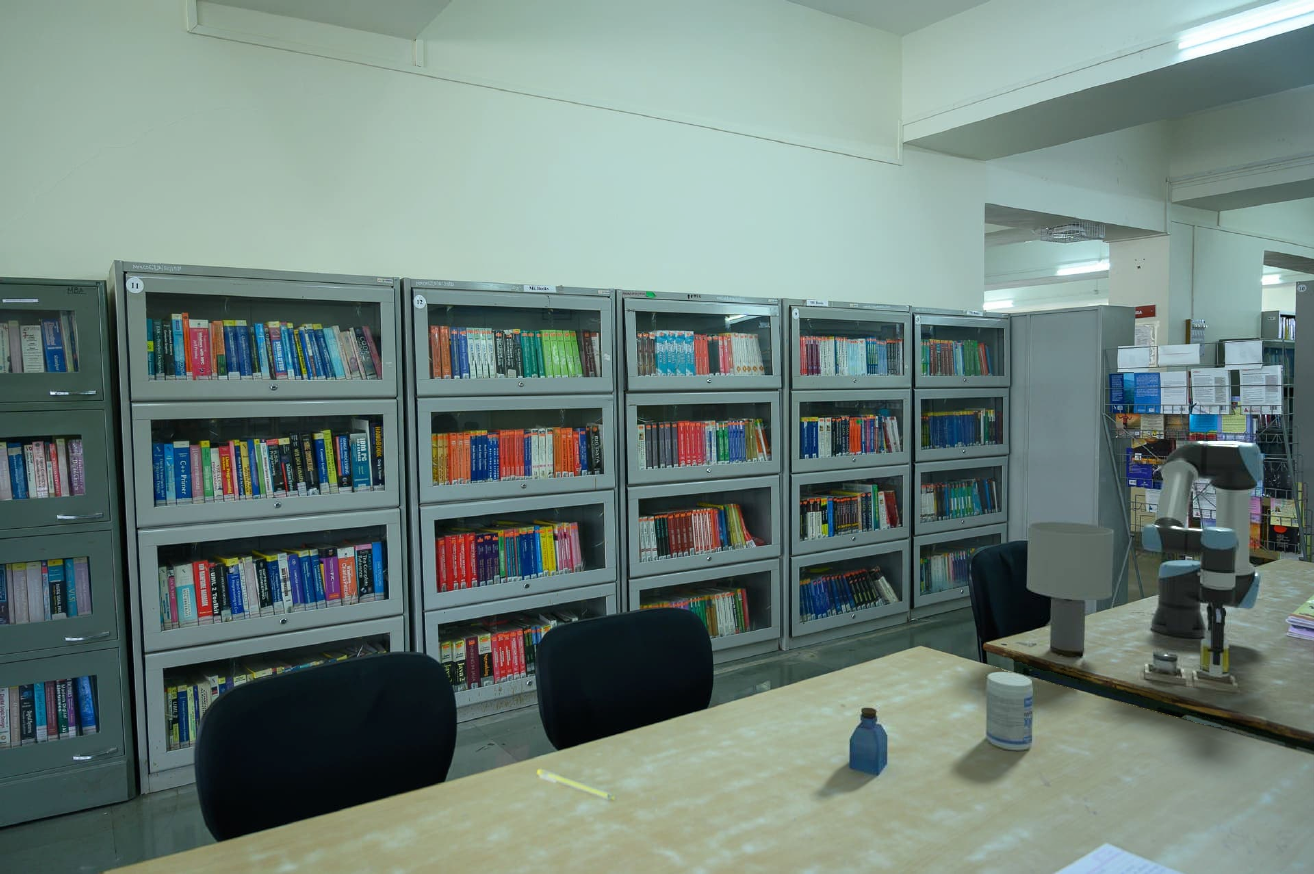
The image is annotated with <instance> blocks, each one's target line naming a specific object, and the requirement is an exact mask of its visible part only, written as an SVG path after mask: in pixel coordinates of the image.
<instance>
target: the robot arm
mask: <svg viewBox="0 0 1314 874" xmlns="http://www.w3.org/2000/svg"><path fill="white" fill-rule="evenodd" d="M1263 467H1264V466H1263V460H1262V452H1261V449H1260V447H1259V445H1257V444H1256V443H1253V442H1242V441H1204V440H1196V441H1191V442H1186V443H1184V444H1182V445H1180V446H1179V447H1177V448H1176V449H1175V450H1173V451H1172V452H1170V454H1169V455H1168V456H1167V457H1166V458H1165V460H1164V461H1163V463H1162V465H1161V471H1160V473H1161V478H1162V479H1163V480H1162V483H1161V488H1160V492H1159V497H1158V502H1157V506H1156V507H1157V508H1156V511H1155V514H1154V515H1155V517H1154V521H1153V523H1150V524H1145V525H1144V526H1143V527H1142V532H1141V533H1142V534H1141V535H1142V536H1141V544H1142V547H1143V548H1144V550H1145V551H1151V552H1158V553H1166V554H1177V555H1188V556H1197V557H1200V561H1198V560H1191V559H1189V560H1188V559H1186V560H1185V559H1183V560H1169V561H1165V562H1162V563H1161V564H1160V566H1159V569H1158V575H1157V577H1158V593H1157V594H1158V596H1157V597H1158V598H1157V607H1156V610H1155V612H1154V614H1153V617H1152V618H1151V622H1150V624H1151V626H1150V627H1151V630H1153V631H1155V632H1157V633H1160V634H1163V635H1167V636H1170V637H1171V636H1173V637H1179V638H1185V639H1186V638H1187V639H1188V638H1189V639H1196V638H1197V639H1199V638H1200V639H1201V638H1205V637H1204V632H1205V631H1207V630H1211V649H1207V651H1208V652H1210V662H1209V676H1214V677H1221V678H1222V661H1223V653H1224V633H1225V627H1226V617H1227V610H1226V607H1227V608H1234V609H1243V610H1244V609H1245V610H1250V609H1253V608H1255V605H1256V602H1257V598H1258V594H1259V590H1260V589H1259V588H1260V583H1261V576H1262V575H1261V573H1259V572H1257V571H1256V567H1255V566H1254V564H1252V563H1251V562H1250V545H1251V544H1250V543H1251V541H1250V537H1251V535H1250V534H1251V498H1252V497H1251V495H1252V494H1251V493H1252V491H1254V490H1255V489H1257V488H1258V483H1261V482H1263V481H1264V470H1263V469H1264V468H1263ZM1198 479H1205V480H1206V479H1207V480H1210V481H1209V482H1210V486H1211V487H1212V488H1213V489H1214V490H1215V491H1216V494H1215V496H1216V497H1215V526H1207V527H1204V528H1193V527H1186V524H1187V518H1188V512H1189V507H1190V500H1191V495H1192V489H1193V484H1194V483H1196V481H1197V480H1198ZM1201 604H1204V605H1205V604H1206V605H1207V606H1206V613H1207V615H1206V617H1207V626H1206V624H1205V623H1206V622H1205V620H1204V618H1203V615H1202V612H1201V611H1202V610H1201ZM1218 647H1219V648H1218Z"/></svg>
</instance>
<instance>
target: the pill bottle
mask: <svg viewBox="0 0 1314 874" xmlns="http://www.w3.org/2000/svg"><path fill="white" fill-rule="evenodd" d="M1226 640H1227V634H1226V633H1225V632H1224V653H1223V661H1222V677H1226V676H1228V675H1229V666H1230V664H1229V663H1230V655H1229V654H1230V645H1229V643H1228V642H1226ZM1218 648H1219V647H1218ZM1207 649H1211V630H1208V629H1206V631H1205V632H1204V637H1203V638H1202V639H1201V641H1200V652H1199V653H1200V654H1199V655H1200V656H1199V671H1201V672H1202V673H1204V674H1206V675H1209V662H1210V652H1208V651H1207Z"/></svg>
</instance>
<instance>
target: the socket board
mask: <svg viewBox="0 0 1314 874" xmlns="http://www.w3.org/2000/svg"><path fill="white" fill-rule="evenodd" d="M1140 675H1141V676H1140V677H1141V678H1140V679H1141V680H1146V681H1152V682H1157V683H1165V684H1171V685H1177V686H1182V687H1183V686H1184V687H1190V688H1196V689H1197V688H1198V689H1203V690H1211V691H1215V692H1222V693H1229V694H1236V695H1243V693H1242V691H1241V687H1240V685H1239V683H1238V680H1236V679H1235V676H1234V675H1231V674H1228V676H1226V677H1222V678H1221V677H1214V676H1209V675H1206V674H1204V673H1202V672H1201V671H1200V670H1199V669H1191V673H1186V672H1185V668H1183V667H1178V666H1177V676H1170V675H1164V674H1157V673H1153V663H1148V662H1144V667H1143V666H1140Z"/></svg>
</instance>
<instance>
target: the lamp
mask: <svg viewBox="0 0 1314 874" xmlns="http://www.w3.org/2000/svg"><path fill="white" fill-rule="evenodd" d="M1114 532H1115V531H1114V530H1113V529H1112V528H1109V527H1105V526H1100V525H1095V524H1088V523H1080V522H1079V523H1077V522H1065V521H1064V522H1063V521H1045V522H1044V521H1042V522H1033V523H1029V524H1028V525H1027V563H1026V566H1027V567H1026V571H1027V572H1026V588H1027V590H1029V591H1031V592H1033V593H1035V594H1039V595H1042V596H1046V597H1050V598H1051V599H1050V601H1051V602H1050V631H1049V632H1050V633H1049V635H1050V638H1049V639H1050V641H1049V651H1050V652H1051V653H1052V654H1054V653H1055V654H1054V655H1056V654H1057V656H1060V655H1062V656H1061V657H1064V656H1065V657H1066V658H1081V657H1084V653H1085V639H1086V638H1085V637H1086V636H1085V635H1086V634H1085V633H1086V630H1085V628H1086V601H1099V600H1100V601H1101V600H1102V601H1103V600H1107V599H1110V598H1112V596H1113V563H1114V562H1113V561H1114V559H1113V558H1114ZM1065 657H1064V658H1065Z"/></svg>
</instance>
